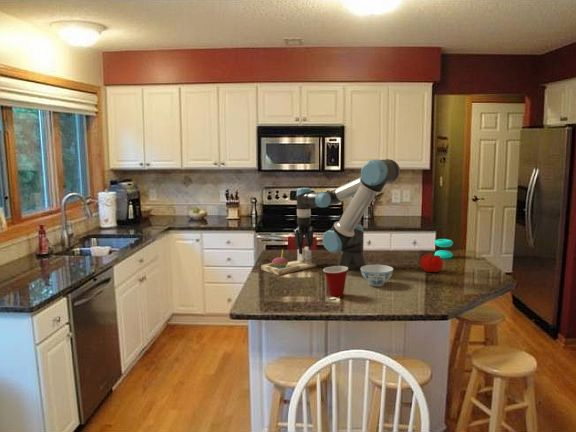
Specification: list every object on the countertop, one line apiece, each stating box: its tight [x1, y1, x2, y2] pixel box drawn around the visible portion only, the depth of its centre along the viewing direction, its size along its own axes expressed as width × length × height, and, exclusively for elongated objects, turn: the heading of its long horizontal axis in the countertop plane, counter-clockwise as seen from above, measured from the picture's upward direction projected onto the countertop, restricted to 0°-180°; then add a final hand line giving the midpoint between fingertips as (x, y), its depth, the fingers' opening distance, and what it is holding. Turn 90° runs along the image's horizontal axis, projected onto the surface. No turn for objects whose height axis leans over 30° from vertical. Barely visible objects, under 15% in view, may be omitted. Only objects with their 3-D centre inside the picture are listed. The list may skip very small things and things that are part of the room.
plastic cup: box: [322, 265, 349, 298], centre depth 214 cm, size 11×11×12 cm
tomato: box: [419, 253, 444, 273], centre depth 252 cm, size 11×11×9 cm
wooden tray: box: [260, 248, 318, 276], centre depth 264 cm, size 15×26×8 cm, turn 130°
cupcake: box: [271, 249, 289, 269], centre depth 259 cm, size 9×8×12 cm
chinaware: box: [360, 264, 394, 287], centre depth 230 cm, size 15×15×8 cm
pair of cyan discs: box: [433, 238, 454, 260], centre depth 285 cm, size 10×10×10 cm
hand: (304, 259), depth 271 cm, fingers closed on wooden tray, 3 cm apart
